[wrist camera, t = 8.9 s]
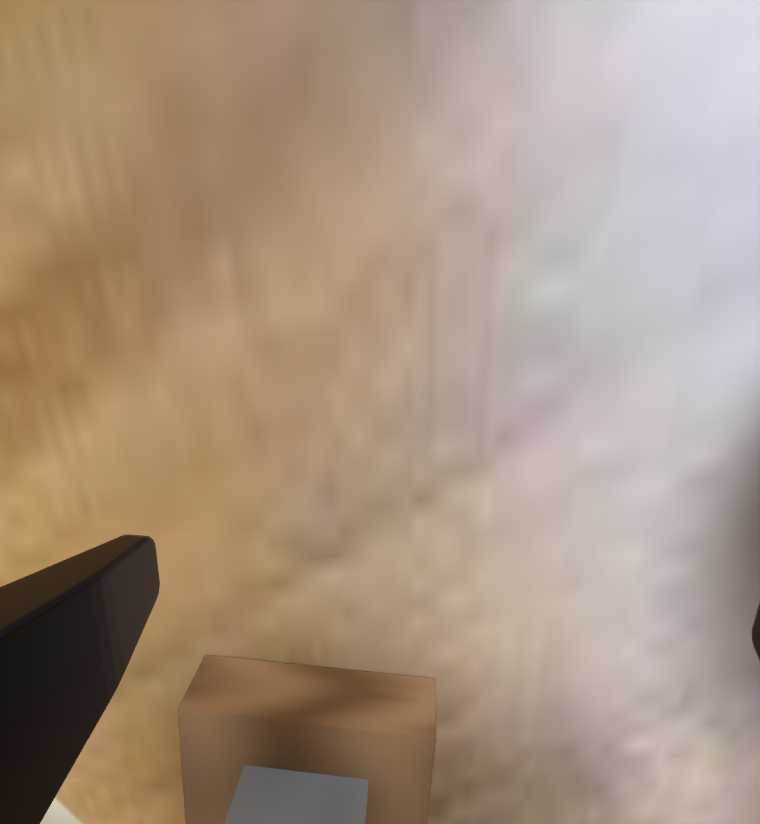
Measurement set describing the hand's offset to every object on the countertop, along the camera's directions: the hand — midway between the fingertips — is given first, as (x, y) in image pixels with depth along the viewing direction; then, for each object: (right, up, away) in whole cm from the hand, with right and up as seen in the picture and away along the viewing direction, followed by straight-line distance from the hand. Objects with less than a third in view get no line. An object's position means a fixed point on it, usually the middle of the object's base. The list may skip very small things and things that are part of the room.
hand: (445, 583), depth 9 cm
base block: (-4, -13, +18) cm, 23 cm away
